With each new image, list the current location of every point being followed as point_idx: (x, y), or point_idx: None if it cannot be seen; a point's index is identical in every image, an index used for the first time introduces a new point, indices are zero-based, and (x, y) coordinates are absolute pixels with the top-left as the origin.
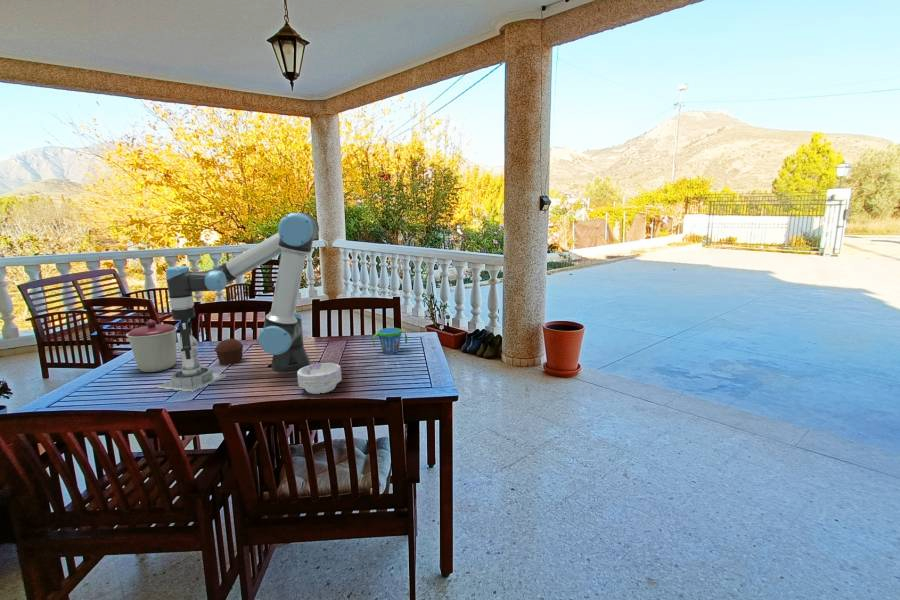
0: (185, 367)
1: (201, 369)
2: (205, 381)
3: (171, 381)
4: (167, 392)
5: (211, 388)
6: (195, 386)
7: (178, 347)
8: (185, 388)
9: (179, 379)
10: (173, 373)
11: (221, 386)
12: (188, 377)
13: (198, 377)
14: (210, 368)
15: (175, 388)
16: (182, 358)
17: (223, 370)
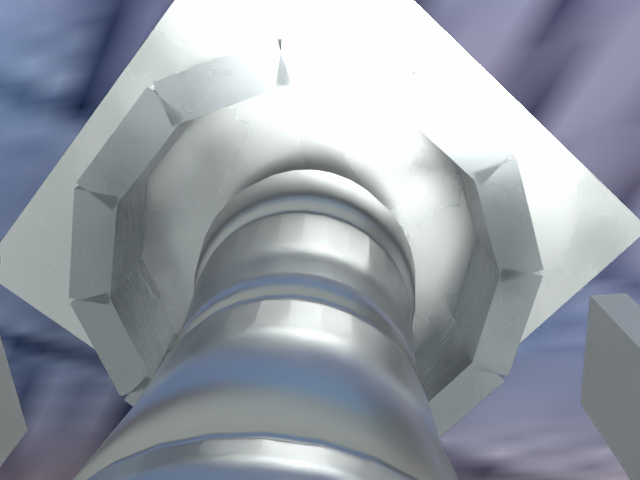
0: (200, 280)
1: (456, 358)
2: None
3: (373, 17)
4: (80, 9)
5: (44, 400)
6: (66, 291)
7: (151, 453)
8: (38, 203)
9: (89, 167)
10: (387, 59)
11: (67, 467)
12: (106, 267)
13: (109, 357)
14: None
15: (108, 94)
16: (202, 325)
17: (547, 473)
